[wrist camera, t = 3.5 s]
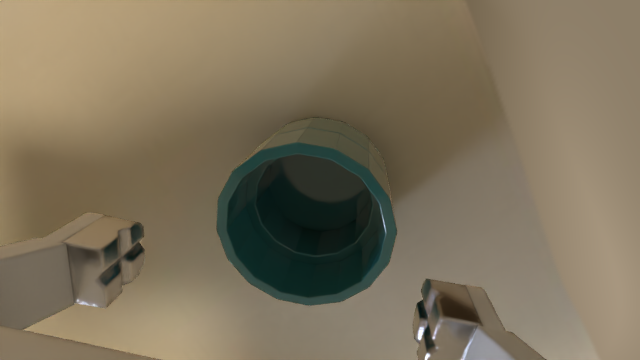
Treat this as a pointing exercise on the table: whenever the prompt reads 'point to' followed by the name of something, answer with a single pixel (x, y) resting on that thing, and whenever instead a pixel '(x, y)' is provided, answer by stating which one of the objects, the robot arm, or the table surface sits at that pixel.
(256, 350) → the table surface
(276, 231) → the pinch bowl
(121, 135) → the table surface
